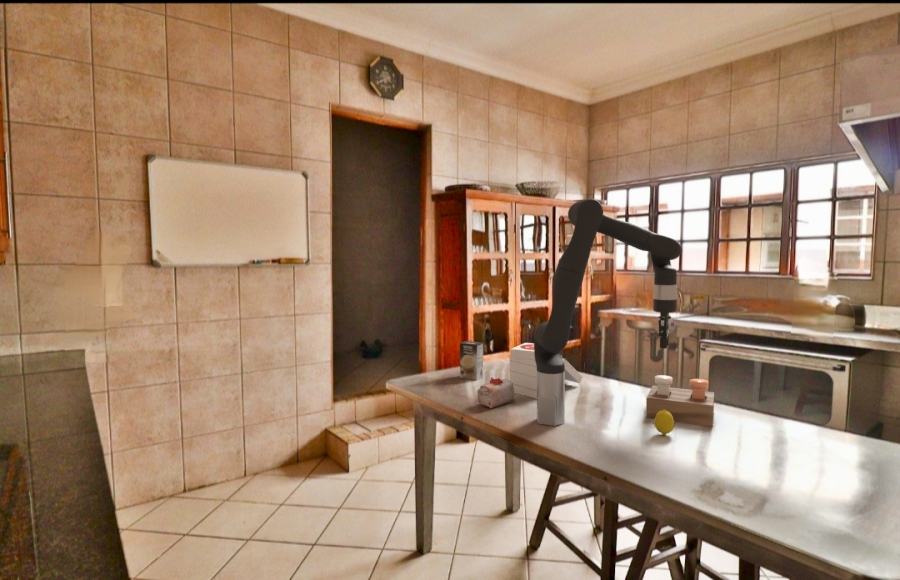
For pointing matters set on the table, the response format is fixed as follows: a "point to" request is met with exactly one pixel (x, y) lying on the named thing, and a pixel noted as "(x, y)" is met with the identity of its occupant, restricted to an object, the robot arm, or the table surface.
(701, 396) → the terracotta plunger
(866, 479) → the table surface
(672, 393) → the walnut block
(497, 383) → the food item
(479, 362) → the coffee box
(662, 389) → the white rounded piece
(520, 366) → the pizza boxes
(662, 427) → the lemon
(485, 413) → the table surface
